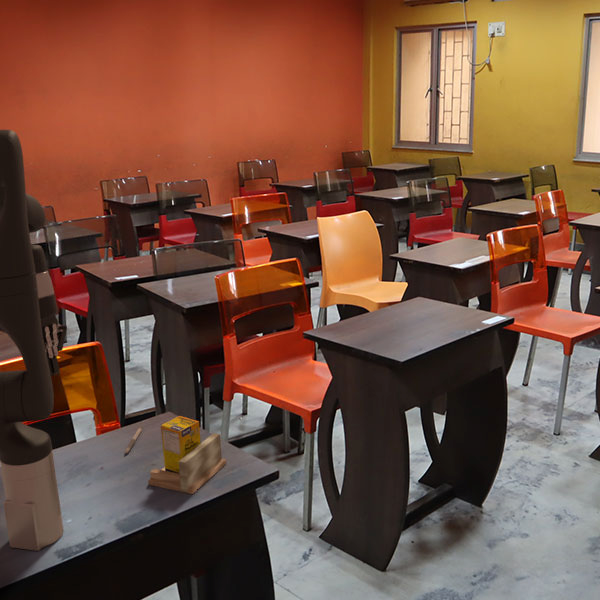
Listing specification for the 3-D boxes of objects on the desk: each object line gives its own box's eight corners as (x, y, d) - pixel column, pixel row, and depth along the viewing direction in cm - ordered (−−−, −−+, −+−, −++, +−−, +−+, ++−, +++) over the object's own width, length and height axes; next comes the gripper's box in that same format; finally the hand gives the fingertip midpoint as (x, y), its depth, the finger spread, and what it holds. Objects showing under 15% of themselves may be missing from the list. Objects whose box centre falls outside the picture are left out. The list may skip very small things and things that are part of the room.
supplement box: (203, 466, 166) (199, 420, 163) (184, 478, 161) (180, 431, 158) (183, 459, 169) (179, 414, 166) (164, 471, 165) (160, 425, 162)
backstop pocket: (192, 494, 157) (189, 463, 155) (148, 484, 162) (145, 454, 160) (226, 463, 169) (224, 434, 167) (184, 455, 174) (182, 427, 172)
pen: (143, 430, 188) (143, 424, 188) (128, 456, 175) (127, 451, 174) (139, 430, 188) (139, 424, 188) (124, 456, 175) (123, 451, 175)
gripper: (29, 300, 152) (48, 382, 154) (69, 287, 164) (86, 364, 167) (-1, 303, 154) (18, 385, 157) (41, 291, 166) (58, 366, 169)
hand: (53, 374), depth 162 cm, fingers closed
